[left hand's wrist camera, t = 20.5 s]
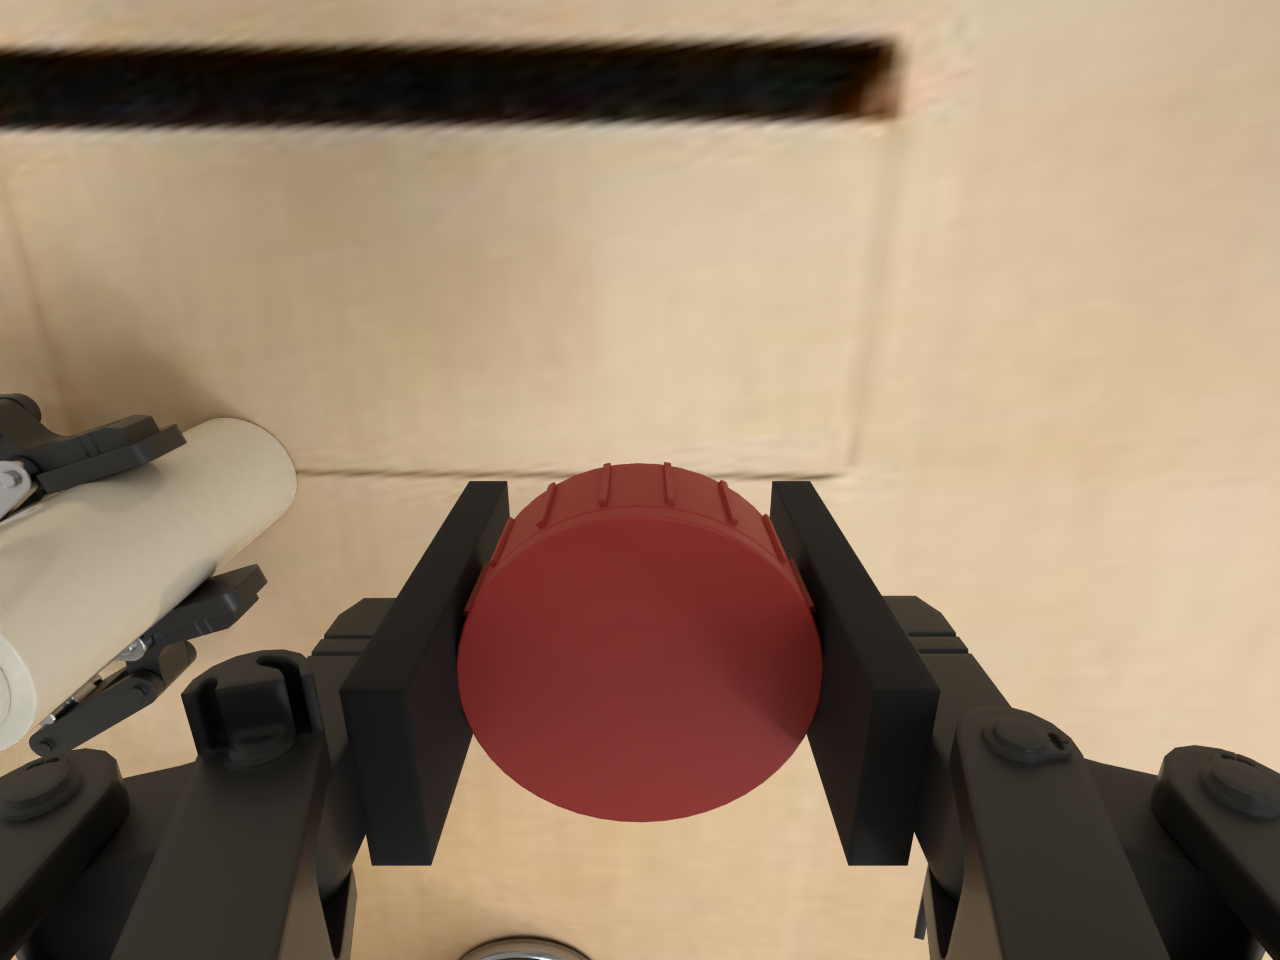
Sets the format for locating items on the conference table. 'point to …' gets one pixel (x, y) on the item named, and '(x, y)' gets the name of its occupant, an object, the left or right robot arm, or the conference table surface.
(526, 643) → the lid
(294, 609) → the conference table surface
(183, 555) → the jar
